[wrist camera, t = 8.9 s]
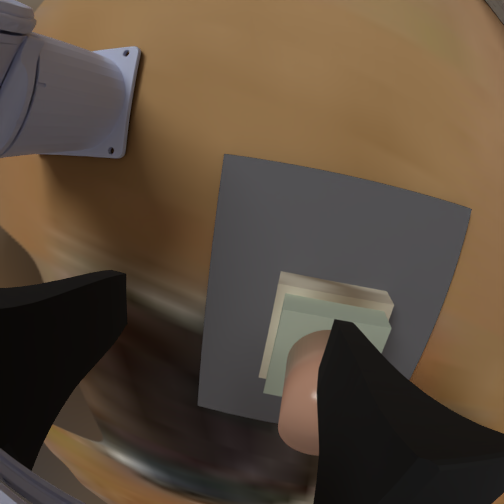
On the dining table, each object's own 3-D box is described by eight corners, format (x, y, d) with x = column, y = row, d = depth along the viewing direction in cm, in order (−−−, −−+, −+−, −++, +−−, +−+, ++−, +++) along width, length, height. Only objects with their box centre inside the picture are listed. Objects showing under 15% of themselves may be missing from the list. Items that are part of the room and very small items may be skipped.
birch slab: (262, 360, 22) (258, 377, 20) (280, 271, 20) (278, 283, 18) (355, 375, 21) (358, 393, 19) (386, 291, 19) (394, 304, 17)
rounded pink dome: (277, 382, 18) (267, 446, 13) (299, 321, 16) (294, 383, 11) (347, 396, 17) (353, 460, 12) (376, 338, 16) (394, 401, 11)
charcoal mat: (199, 400, 25) (197, 405, 25) (226, 154, 19) (224, 154, 18) (377, 430, 23) (377, 435, 23) (467, 207, 17) (471, 209, 17)
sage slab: (267, 373, 20) (263, 393, 18) (285, 293, 18) (282, 309, 16) (354, 387, 19) (356, 407, 17) (384, 311, 17) (391, 328, 15)
